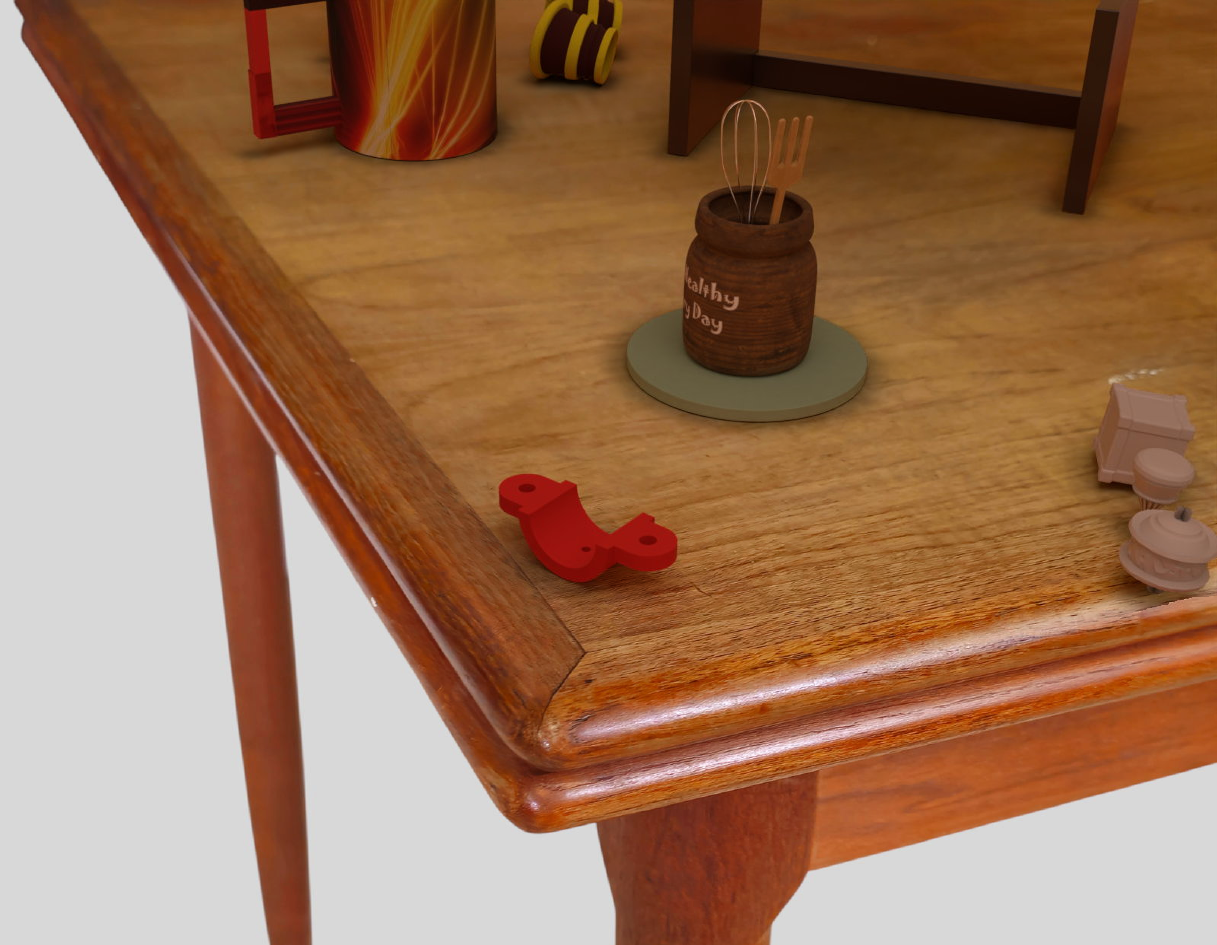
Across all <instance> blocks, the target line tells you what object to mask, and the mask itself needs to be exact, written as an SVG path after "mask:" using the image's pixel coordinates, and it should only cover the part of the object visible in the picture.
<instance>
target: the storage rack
mask: <svg viewBox="0 0 1217 945" xmlns="http://www.w3.org/2000/svg"><path fill="white" fill-rule="evenodd" d="M672 3H673V4H672V6H673V7H672V28H671V29H672V30H671V52H670V53H671V54H670V77H669V78H670V79H669V102H668V124H667V126H668V127H667V128H668V129H667V151H666V152H667V154H670V155H678V156H685V157H688V155H689V154H690V153H691V152H692V150H693V149H695V147H696V146H697V145H698V144H699V143H700V142H701V141H702V140H703V139H704V138H705V136H706V135H708V133H709V132H710V131H712V129H713V128H714V127H715V126H716V124H718V122H719V121H720V120H722V118H723V115H724V113H725V111H726V110H727V108H728V107H729V106H730V105H731V104H732V103H734V102H736V101H740V99H741V98H742V97H743V95H745V93H746V92H747V91H748V90H749V89H750V88H751V87H752V86H755V87H761V88H769V89H776V90H785V91H791V92H800V93H806V94H814V95H820V96H821V95H822V96H829V97H836V98H844V99H852V100H859V101H866V102H873V103H881V104H887V105H896V106H903V107H910V108H911V107H912V108H918V109H923V110H924V109H925V110H933V111H940V112H947V113H955V114H963V115H970V116H978V117H984V118H991V119H1000V120H1006V121H1014V122H1022V123H1023V122H1024V123H1028V124H1029V123H1031V124H1037V125H1044V126H1051V127H1058V128H1065V129H1066V128H1067V129H1074V135H1073V141H1072V147H1071V153H1070V159H1069V165H1068V170H1067V177H1066V182H1065V187H1064V193H1063V200H1062V206H1061V211H1062V212H1066V213H1072V214H1079V215H1084V213H1085V211H1086V208H1087V206H1088V202H1089V200H1090V198H1091V195H1092V193H1093V190H1094V187H1095V184H1096V181H1097V179H1098V176H1099V173H1100V171H1101V168H1102V165H1103V162H1104V159H1105V157H1106V155H1107V152H1108V149H1109V147H1110V144H1111V142H1112V139H1113V136H1114V133H1115V130H1116V128H1117V123H1118V117H1119V111H1120V107H1121V101H1122V95H1123V92H1124V85H1125V80H1126V73H1127V68H1128V65H1129V64H1128V62H1129V58H1130V52H1131V47H1132V46H1131V45H1132V41H1133V35H1134V31H1135V26H1136V20H1137V15H1138V10H1139V9H1138V8H1139V3H1140V0H1099V2H1098V4H1097V7H1096V8H1095V12H1094V18H1093V19H1094V20H1093V24H1092V30H1091V37H1090V43H1089V48H1088V54H1087V60H1086V65H1085V71H1084V76H1083V83H1082V88H1081V90H1077V89H1069V88H1062V87H1054V86H1046V85H1039V84H1032V83H1023V82H1016V81H1009V80H1001V79H994V78H993V79H992V78H986V77H977V76H970V75H962V74H953V73H945V72H940V71H939V72H938V71H931V70H922V69H916V68H907V67H899V66H892V65H884V64H877V63H868V62H862V61H853V60H845V59H838V58H832V57H831V58H830V57H822V56H814V55H808V54H807V55H806V54H799V53H791V52H783V51H775V50H769V49H760V39H761V25H762V11H763V10H762V9H763V0H673V2H672ZM733 105H734V104H733ZM734 106H735V105H734ZM730 107H731V106H730ZM730 107H729V108H730ZM728 110H729V109H728ZM728 110H727V111H728ZM729 111H730V110H729ZM729 111H728V112H729ZM726 113H727V112H726ZM726 113H725V115H726ZM727 114H728V113H727Z"/></svg>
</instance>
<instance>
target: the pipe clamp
mask: <svg viewBox="0 0 1217 945" xmlns="http://www.w3.org/2000/svg"><path fill="white" fill-rule="evenodd" d="M579 495H580V494H579V491H578V484H577V483H574V482H573V481H570V480H567V479H564V480H563V481H561V482H559V481H556V480H554V479H551V478H550V477H547V476H544V475H541V474H537V473H519V474H513V475H511V476H508V477H506V478H505V479H503V480H502V481H501V482H499V486H498V504H499V508H500V510H501V511H502V512H504V513H505V514H507V515H510V516H511V517H513V518H516V519H518V523H519V526H520V530H521V533H522V535H523V537H524V540H525V541H526V543H527V545H528V547H529V549H530V550H531V551H532V553H533V554H534V556H535V557H536V558H537V560H539V561H540V563H541V564H542V565H543V566H544V567H545V568H546V569H548V570H549V571H550V572H552V573H553V574H554V575H556V576H558V577H560V578H562V579H564V580H567V581H570V582H574V583H586V582H590V581H592V580H594V579H596V578H597V577H598V576H600V575H602V574H603V573H604V572H606V571H607V570H608V569H610V568H612V567H613V566H614V565H616V564H620V565H622V566H623V567H627V568H629V569H631V570H634V571H638V572H649V573H650V572H651V573H652V572H659V571H663V570H666V569H668V568H669V567H671V566H673V565H674V564H675V562H676V561H677V560H678V559H677V558H678V537H677V534H675V532H673V531H672V530H671V529H669V528H667V527H665V526H662V525H661V524H658V523H656V517H655V516H654V515H651V514H649V513H646V512H643V511H642V512H641V513H639V514H638V515H636V516H635V517H634V518H632V519H631V520H629V521H628V522H627V523H625V524H623V525H621V526H620V527H619V528H618V529H616V530H614V531H613V532H611V533H609V532H607V531H605V530H603V529H602V528H600V527H599V526H598V525H597V524H596V523H595V522H594V521H593V520H592V519H591V518H590V516H589V515H588V513H587V511H586V509H584V506H583V505H582V502H581V498H580V496H579Z"/></svg>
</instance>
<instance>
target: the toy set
mask: <svg viewBox="0 0 1217 945" xmlns="http://www.w3.org/2000/svg"><path fill="white" fill-rule="evenodd" d="M1187 399H1188V398H1187V396H1186V395H1184V394H1183V395H1182V394H1177V393H1174V394H1172V395H1168V394H1163V393H1157V392H1152V391H1149V390H1142V389H1137V388H1131V387H1127V386H1126V384H1124V383H1118V382H1112V384H1111V387H1110V390H1109V400H1108V403H1107V406H1106V409H1105V412H1104V414H1103V417H1102V420H1101V423H1100V426H1099V430H1098V432H1097V435H1095V436H1094V437H1093V440H1092V443H1091V448H1092V451H1093V452H1095V456H1096V461H1097V466H1098V471H1097V474H1096V476H1097V480H1098V482H1102V483H1107V484H1111V483H1112V482H1116V483H1120V484H1126V485H1131V486H1132V490H1133V492H1134V494H1135V495H1137V497H1138V503H1139V507H1140V511H1138V512H1136V513H1135V514H1134V515H1133V516H1132V517H1131V518H1130V520H1129V522H1128V530H1129V532H1130V534H1131V536H1130V538H1129V540H1127V541H1125V542H1123V544H1121V546H1120V547H1119V550H1118V560H1119V563H1120V565H1121V566H1122V568H1123V569H1124V570H1125V572H1126V573H1127V574H1129V576H1131V577H1133V578H1134V579H1136V580H1138V581H1139V582H1141V583H1143V584H1145V585H1146V591H1147V592H1149V593H1152V594H1154V595H1161V594H1162V592H1163V591H1164V592H1168V593H1169V592H1170V593H1177V594H1178V593H1179V594H1181V593H1183V594H1186V593H1193V592H1196V591H1199V590H1201V589H1203V587H1205V586H1206V584H1207V583H1208V582H1209V580H1210V577H1211V576H1210V571H1209V568H1208V564H1209V563H1211V562H1213V560H1215V559H1216V558H1217V534H1216V533H1215V531H1213V530H1212V529H1211V528H1210V527H1209V526H1208V525H1207V524H1205V523H1204V522H1202V521H1200V520H1198V519H1197V518H1194V517H1192V515H1193V509H1191V508H1190V507H1188V506H1186V507H1185V505H1178V506H1176V508H1175V510H1174V511H1173V510H1166V509H1163V507H1165V506H1167V505H1172V504H1174V503H1175V502H1177V501H1178V498H1179V495H1180V494H1181V493H1182V492H1183V491H1184V490H1186V489H1187V488H1188V487H1189V486H1190V485H1191V484H1192V483H1193V480H1194V479H1195V475H1196V470H1195V467H1194V466H1193V464H1192V463H1191V461H1189V459H1187V458H1186V457H1184V456H1185V454H1186V451H1187V449H1188V446H1189V443H1190V442H1192V441H1193V440H1194V438H1195V434H1196V432H1197V430H1196V427H1195V425H1194V424H1192V423H1191V419H1190V416H1189V412H1188V409H1187V404H1188V400H1187Z"/></svg>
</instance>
